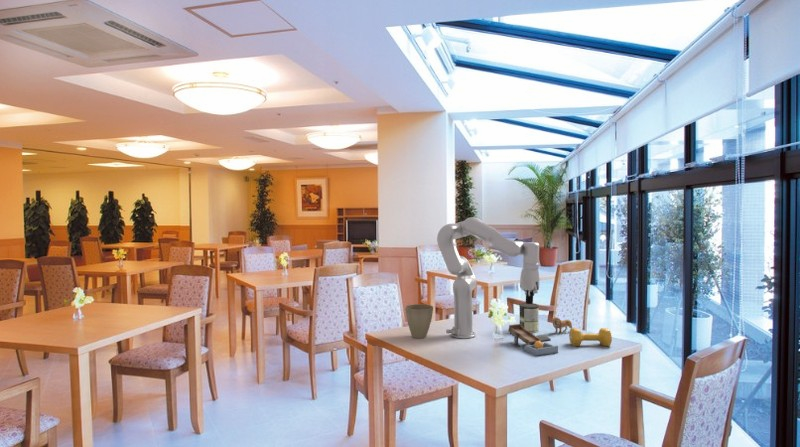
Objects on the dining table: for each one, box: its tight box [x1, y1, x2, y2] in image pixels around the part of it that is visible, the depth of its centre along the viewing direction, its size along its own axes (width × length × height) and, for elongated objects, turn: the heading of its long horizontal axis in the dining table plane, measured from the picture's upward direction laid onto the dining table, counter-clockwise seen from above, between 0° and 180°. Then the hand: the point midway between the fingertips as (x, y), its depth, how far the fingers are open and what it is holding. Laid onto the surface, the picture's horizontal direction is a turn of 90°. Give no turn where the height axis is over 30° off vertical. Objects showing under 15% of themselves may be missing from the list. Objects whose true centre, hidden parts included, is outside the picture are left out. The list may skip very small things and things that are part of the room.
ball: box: [534, 341, 544, 349], centre depth 224 cm, size 4×4×4 cm
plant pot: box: [404, 303, 434, 339], centre depth 251 cm, size 15×15×16 cm
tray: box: [523, 342, 559, 357], centre depth 223 cm, size 10×12×3 cm
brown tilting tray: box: [508, 323, 552, 345], centre depth 236 cm, size 15×14×4 cm
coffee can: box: [519, 302, 540, 334], centre depth 262 cm, size 10×10×14 cm
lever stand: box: [510, 332, 535, 348], centre depth 234 cm, size 4×12×6 cm, turn 113°
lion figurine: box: [551, 316, 574, 335], centre depth 257 cm, size 15×5×9 cm, turn 121°
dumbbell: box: [568, 327, 613, 347], centre depth 233 cm, size 19×9×8 cm, turn 87°
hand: (529, 303), depth 237 cm, fingers closed
